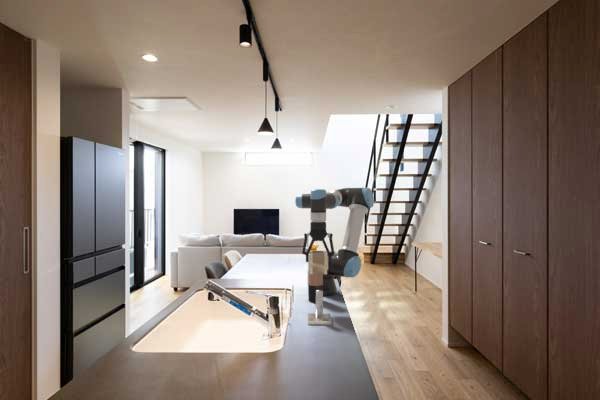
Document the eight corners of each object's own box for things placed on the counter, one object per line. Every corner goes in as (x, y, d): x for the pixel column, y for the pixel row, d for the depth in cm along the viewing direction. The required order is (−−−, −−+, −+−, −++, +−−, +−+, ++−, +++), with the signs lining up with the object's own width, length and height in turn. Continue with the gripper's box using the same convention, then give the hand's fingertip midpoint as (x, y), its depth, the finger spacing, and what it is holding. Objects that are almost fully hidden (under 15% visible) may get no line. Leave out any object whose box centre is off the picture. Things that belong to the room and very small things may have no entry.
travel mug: (323, 299, 193) (323, 261, 193) (322, 303, 185) (322, 263, 186) (308, 298, 194) (308, 260, 194) (307, 302, 186) (307, 263, 186)
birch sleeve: (309, 271, 179) (309, 250, 179) (325, 271, 179) (326, 250, 179) (309, 274, 171) (310, 252, 171) (327, 274, 171) (327, 253, 171)
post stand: (307, 316, 163) (307, 287, 163) (329, 317, 163) (330, 287, 163) (307, 324, 153) (307, 293, 153) (331, 324, 153) (331, 293, 153)
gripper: (296, 221, 172) (296, 270, 172) (340, 222, 171) (340, 270, 171) (296, 220, 179) (296, 267, 179) (339, 221, 179) (339, 267, 179)
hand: (318, 268), depth 175 cm, fingers closed on birch sleeve, 8 cm apart
